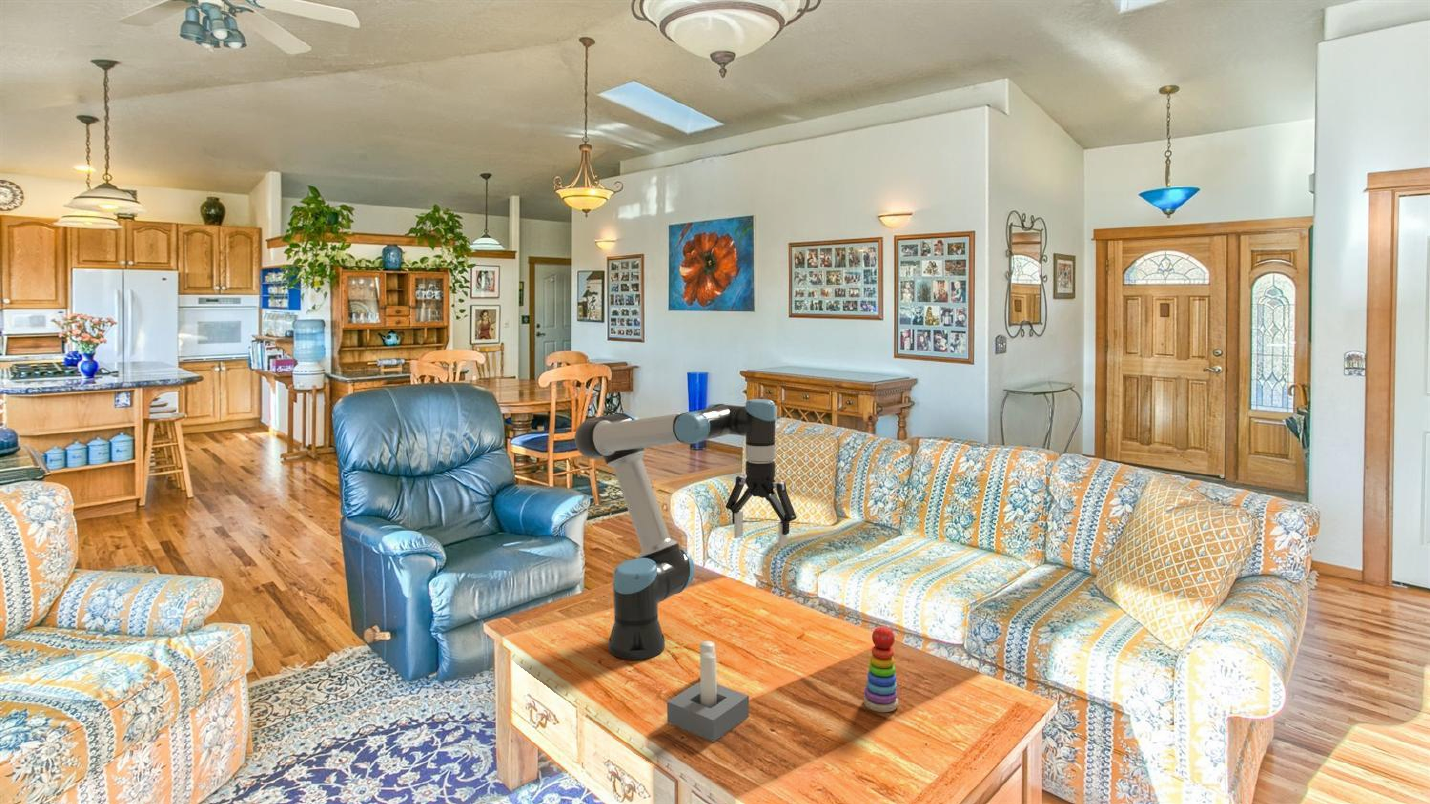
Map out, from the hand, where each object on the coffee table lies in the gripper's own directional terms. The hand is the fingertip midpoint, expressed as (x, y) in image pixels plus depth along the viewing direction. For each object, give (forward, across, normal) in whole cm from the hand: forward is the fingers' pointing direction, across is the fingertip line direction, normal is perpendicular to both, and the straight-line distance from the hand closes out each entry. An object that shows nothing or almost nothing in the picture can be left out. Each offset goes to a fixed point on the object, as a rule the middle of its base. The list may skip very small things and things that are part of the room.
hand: (760, 541), depth 202 cm
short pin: (+32, +4, +17) cm, 36 cm away
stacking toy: (+32, -36, +3) cm, 48 cm away
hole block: (+31, -8, +32) cm, 46 cm away
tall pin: (+32, -8, +32) cm, 46 cm away
